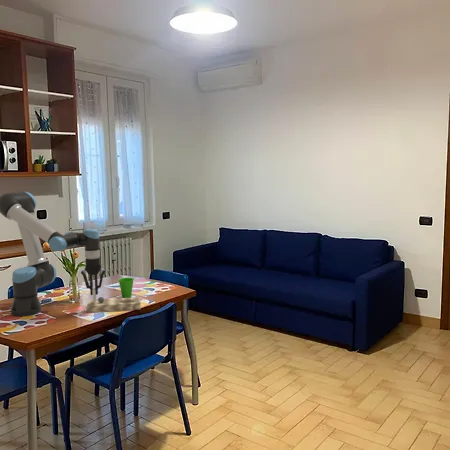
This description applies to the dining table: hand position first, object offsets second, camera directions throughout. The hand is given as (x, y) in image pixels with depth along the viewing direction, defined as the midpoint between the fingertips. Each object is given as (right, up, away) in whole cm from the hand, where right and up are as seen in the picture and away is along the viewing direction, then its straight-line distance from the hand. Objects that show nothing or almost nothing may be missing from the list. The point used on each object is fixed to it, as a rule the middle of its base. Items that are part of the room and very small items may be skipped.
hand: (94, 300), depth 252 cm
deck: (+10, -5, +4) cm, 12 cm away
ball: (+3, 0, +1) cm, 3 cm away
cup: (+12, -2, +23) cm, 27 cm away
